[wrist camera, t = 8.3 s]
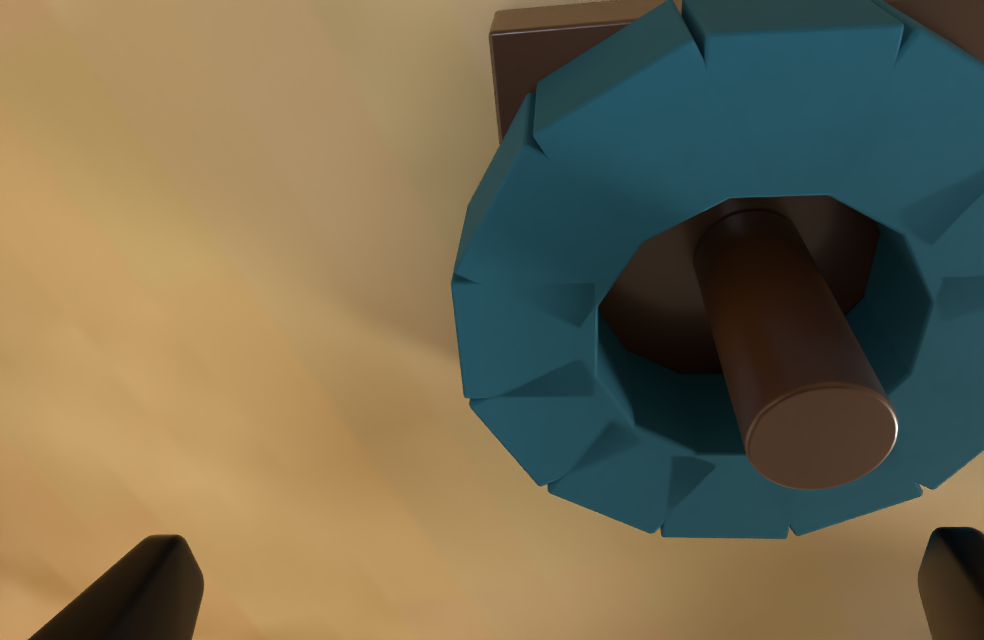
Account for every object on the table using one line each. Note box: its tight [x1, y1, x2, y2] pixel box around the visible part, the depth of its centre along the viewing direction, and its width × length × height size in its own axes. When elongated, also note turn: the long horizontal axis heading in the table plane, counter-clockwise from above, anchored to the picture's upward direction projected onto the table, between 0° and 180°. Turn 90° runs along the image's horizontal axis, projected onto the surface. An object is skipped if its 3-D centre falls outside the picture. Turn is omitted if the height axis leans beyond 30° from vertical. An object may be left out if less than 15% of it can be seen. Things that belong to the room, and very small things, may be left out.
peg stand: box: [489, 0, 984, 490], centre depth 13 cm, size 9×9×6 cm
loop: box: [451, 0, 984, 539], centre depth 14 cm, size 10×10×2 cm
